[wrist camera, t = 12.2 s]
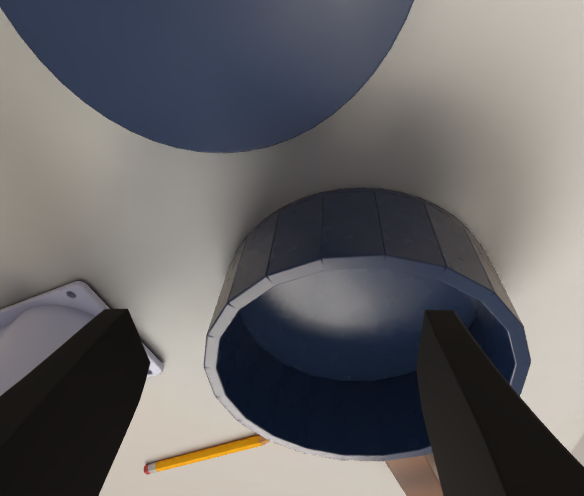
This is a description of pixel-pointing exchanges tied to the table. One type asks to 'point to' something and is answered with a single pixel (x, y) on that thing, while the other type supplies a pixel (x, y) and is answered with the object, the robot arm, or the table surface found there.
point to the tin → (350, 321)
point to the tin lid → (211, 62)
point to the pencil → (205, 454)
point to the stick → (417, 475)
